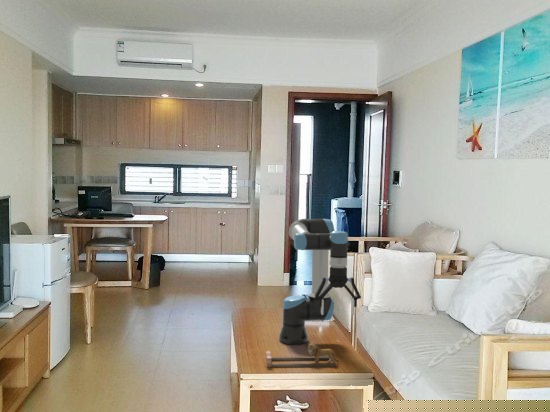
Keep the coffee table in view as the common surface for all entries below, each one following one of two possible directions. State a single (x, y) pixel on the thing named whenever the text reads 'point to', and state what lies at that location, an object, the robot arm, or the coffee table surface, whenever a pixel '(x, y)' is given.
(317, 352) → the lion figurine
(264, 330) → the coffee table surface
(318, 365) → the track
